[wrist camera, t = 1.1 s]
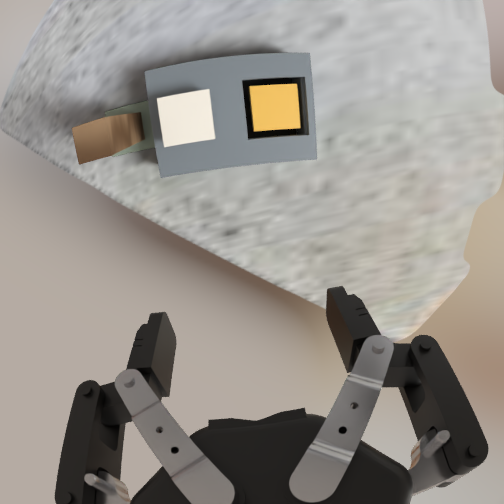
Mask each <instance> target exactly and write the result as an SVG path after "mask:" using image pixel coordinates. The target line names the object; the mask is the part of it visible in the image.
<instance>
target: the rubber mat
mask: <svg viewBox="0 0 504 504" xmlns="http://www.w3.org/2000/svg"><path fill="white" fill-rule="evenodd" d="M138 112H141V116H142V123H143V129H144V135H145V140H143V141H141V142H138V143H136V144H134V145H132V146H130V147H128V148H126V149H124V150H122V151H120V152H118V153H116V154H114V155H112V157H115V156H119V155H123V154H127V153H132V152H136V151H140V150H145V149H150V148H155V143H154V137H153V131H152V124H151V118H150V111H149V104H148V101H143V102H139V103H135V104H131V105H128V106H124V107H120V108H117V109H113V110H110V111H107V112H105V117H109V116H115V115H122V114H130V113H138Z"/></svg>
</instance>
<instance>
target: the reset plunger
mask: <svg viewBox="0 0 504 504" xmlns="http://www.w3.org/2000/svg"><path fill="white" fill-rule="evenodd" d="M248 90H249V100H250V110H251V119H252V129H253V131H265V130H278V129H294V128H300V114H299V101H298V89H297V84H278V85H261V86H249V87H248Z"/></svg>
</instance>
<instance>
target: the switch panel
mask: <svg viewBox="0 0 504 504" xmlns="http://www.w3.org/2000/svg"><path fill="white" fill-rule="evenodd" d="M144 72H145V80H146V89H147V96H148V104H149V111H150V118H151V124H152V131H153V137H154V143H155V149H156V155H157V160H158V166H159V171H160V176H161V178H163V177H169V176H175V175H181V174H187V173H193V172H200V171H207V170H214V169H221V168H229V167H237V166H246V165H255V164H265V163H275V162H287V161H300V160H316V159H317V144H316V125H315V109H314V95H313V83H312V72H311V61H310V53H265V54H249V55H237V56H227V57H219V58H211V59H204V60H198V61H192V62H186V63H180V64H175V65H170V66H166V67H161V68H157V69H152V70H148V71H144ZM270 78H292V82H293V84H297V89H298V101H299V114H300V128H296V132H297V135H285V136H271V137H260V138H250V139H248V133H247V124H246V114H245V104H244V95H243V86H242V81H243V80H254V79H270ZM206 89H209V90H210V98H211V106H212V115H213V123H214V131H215V139H212V140H205V141H198V142H192V143H186V144H180V145H174V146H169V147H164V143H163V137H162V131H161V124H160V118H159V111H158V103H157V98H162V97H166V96H171V95H176V94H182V93H187V92H193V91H199V90H206Z"/></svg>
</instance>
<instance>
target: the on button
mask: <svg viewBox="0 0 504 504" xmlns="http://www.w3.org/2000/svg"><path fill="white" fill-rule="evenodd" d="M157 103H158V111H159V118H160V124H161V131H162V137H163V143H164V147H169V146H174V145H180V144H186V143H192V142H198V141H205V140H212V139H215V131H214V123H213V115H212V106H211V98H210V90H209V89H206V90H199V91H193V92H187V93H182V94H176V95H171V96H166V97H162V98H157Z"/></svg>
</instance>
